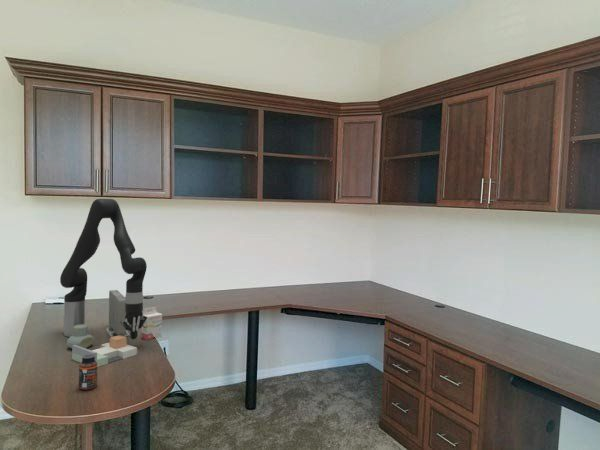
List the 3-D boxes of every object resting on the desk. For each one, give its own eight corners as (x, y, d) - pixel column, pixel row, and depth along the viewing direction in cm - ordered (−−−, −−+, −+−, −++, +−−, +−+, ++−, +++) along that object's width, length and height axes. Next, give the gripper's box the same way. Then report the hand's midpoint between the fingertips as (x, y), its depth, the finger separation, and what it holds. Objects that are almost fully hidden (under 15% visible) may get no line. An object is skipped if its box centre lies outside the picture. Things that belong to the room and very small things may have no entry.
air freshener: (75, 352, 187) (76, 330, 187) (63, 349, 191) (63, 327, 190) (97, 345, 197) (97, 324, 197) (84, 342, 201) (85, 321, 200)
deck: (72, 359, 179) (72, 345, 178) (115, 347, 196) (115, 334, 195) (94, 368, 170) (94, 353, 170) (137, 354, 187) (137, 341, 187)
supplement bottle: (87, 392, 148) (87, 360, 148) (74, 388, 151) (74, 357, 150) (100, 385, 154) (101, 354, 154) (88, 382, 156) (88, 352, 156)
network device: (104, 327, 226) (104, 290, 226) (121, 325, 231) (122, 289, 231) (112, 340, 205) (113, 299, 204) (131, 337, 210) (132, 297, 209)
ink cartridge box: (146, 340, 206) (147, 310, 206) (141, 338, 210) (141, 308, 209) (162, 336, 213) (162, 307, 213) (156, 334, 216) (157, 306, 216)
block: (109, 346, 187) (109, 337, 187) (119, 343, 191) (119, 335, 191) (116, 349, 184) (116, 340, 184) (126, 346, 188) (126, 337, 188)
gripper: (141, 297, 201) (140, 334, 202) (116, 302, 190) (115, 340, 191) (151, 300, 197) (151, 336, 198) (126, 305, 186) (126, 344, 187)
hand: (133, 338), depth 194 cm, fingers closed
